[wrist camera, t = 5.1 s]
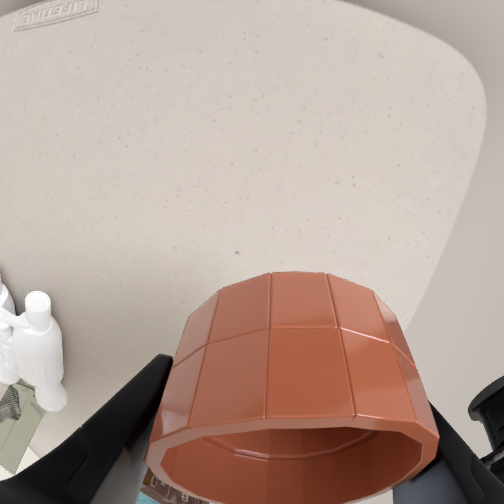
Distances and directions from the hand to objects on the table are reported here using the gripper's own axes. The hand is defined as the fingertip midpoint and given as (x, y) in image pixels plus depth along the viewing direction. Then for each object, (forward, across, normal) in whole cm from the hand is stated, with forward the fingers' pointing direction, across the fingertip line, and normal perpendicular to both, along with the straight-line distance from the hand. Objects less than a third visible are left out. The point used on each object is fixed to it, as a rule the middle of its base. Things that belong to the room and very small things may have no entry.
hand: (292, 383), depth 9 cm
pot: (+1, 0, 0) cm, 1 cm away
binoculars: (+11, +22, +15) cm, 29 cm away
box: (+11, +29, +30) cm, 44 cm away
